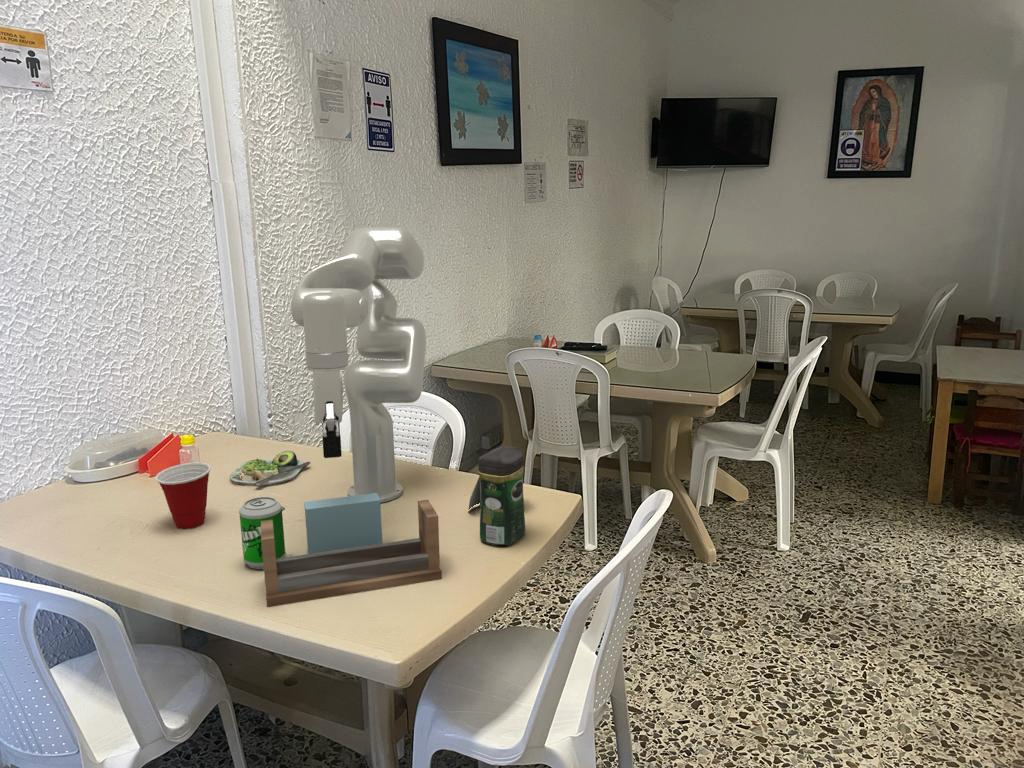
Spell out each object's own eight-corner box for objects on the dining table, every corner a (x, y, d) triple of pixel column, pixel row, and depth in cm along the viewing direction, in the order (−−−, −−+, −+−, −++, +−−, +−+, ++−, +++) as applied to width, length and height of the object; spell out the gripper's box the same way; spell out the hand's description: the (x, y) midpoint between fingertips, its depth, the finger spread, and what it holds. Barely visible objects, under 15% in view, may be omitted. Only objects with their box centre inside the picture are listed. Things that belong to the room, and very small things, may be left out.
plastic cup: (152, 524, 161) (145, 471, 158) (202, 510, 169) (196, 458, 166) (174, 539, 154) (168, 483, 151) (225, 523, 161) (220, 469, 159)
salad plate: (291, 492, 180) (289, 473, 179) (216, 491, 181) (215, 473, 180) (315, 465, 199) (313, 448, 198) (247, 464, 199) (246, 447, 198)
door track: (265, 577, 138) (260, 518, 135) (428, 552, 147) (426, 497, 144) (267, 606, 127) (261, 543, 125) (441, 578, 137) (440, 518, 134)
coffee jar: (497, 525, 159) (495, 440, 155) (530, 532, 156) (530, 446, 152) (472, 542, 151) (471, 453, 147) (507, 551, 148) (506, 460, 143)
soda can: (271, 549, 149) (266, 492, 146) (294, 560, 144) (289, 501, 141) (236, 563, 143) (230, 503, 140) (258, 575, 138) (253, 513, 136)
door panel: (307, 549, 149) (304, 501, 147) (379, 539, 153) (377, 492, 151) (309, 558, 145) (305, 509, 143) (382, 547, 150) (380, 500, 147)
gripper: (307, 353, 147) (312, 438, 151) (305, 370, 131) (311, 465, 135) (346, 351, 149) (350, 435, 153) (349, 367, 133) (354, 461, 136)
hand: (332, 449), depth 144 cm, fingers open, 9 cm apart
